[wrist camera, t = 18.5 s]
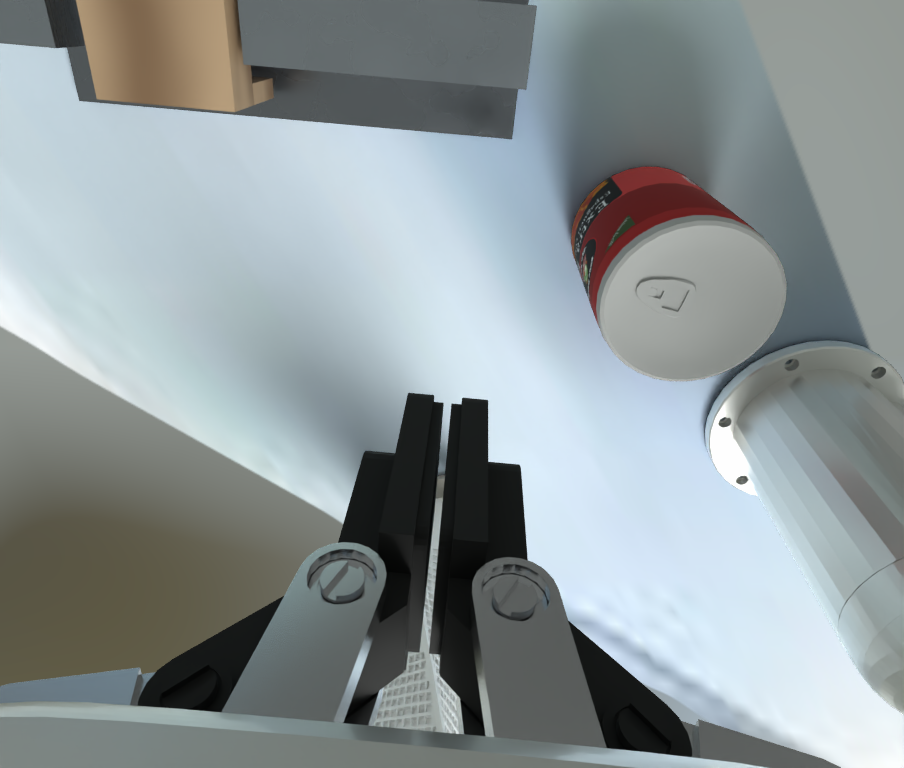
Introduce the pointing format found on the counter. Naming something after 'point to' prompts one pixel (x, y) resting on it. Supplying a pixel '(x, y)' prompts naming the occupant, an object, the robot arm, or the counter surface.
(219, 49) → the tan slotted wooden block
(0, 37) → the notched rail
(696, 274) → the canned food
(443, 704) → the skyscraper
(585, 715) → the robot arm
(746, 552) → the counter surface
